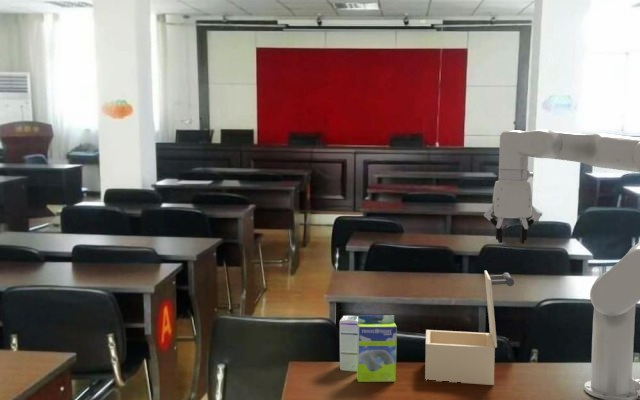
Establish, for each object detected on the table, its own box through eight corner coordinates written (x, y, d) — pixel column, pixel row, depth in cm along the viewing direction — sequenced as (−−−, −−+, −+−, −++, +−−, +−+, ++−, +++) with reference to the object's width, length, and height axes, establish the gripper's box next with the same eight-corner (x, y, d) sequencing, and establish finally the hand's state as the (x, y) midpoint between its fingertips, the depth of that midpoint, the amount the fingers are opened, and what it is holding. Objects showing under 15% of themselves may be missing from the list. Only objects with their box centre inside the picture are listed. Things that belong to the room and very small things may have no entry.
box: (357, 382, 165) (358, 319, 164) (356, 377, 169) (356, 315, 168) (396, 382, 166) (397, 318, 164) (394, 376, 170) (395, 314, 168)
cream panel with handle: (490, 332, 177) (513, 331, 176) (494, 347, 163) (520, 346, 162) (484, 270, 176) (508, 268, 175) (488, 280, 162) (514, 278, 161)
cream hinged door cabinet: (489, 367, 177) (489, 333, 177) (493, 385, 164) (494, 348, 163) (425, 363, 181) (426, 329, 180) (425, 380, 167) (425, 344, 166)
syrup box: (359, 372, 173) (360, 321, 172) (339, 370, 174) (339, 319, 173) (362, 365, 179) (362, 316, 178) (342, 363, 180) (342, 314, 179)
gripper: (542, 176, 170) (540, 241, 172) (479, 175, 173) (477, 240, 174) (548, 177, 163) (546, 245, 164) (482, 176, 165) (480, 243, 167)
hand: (510, 242), depth 169 cm, fingers open, 5 cm apart
